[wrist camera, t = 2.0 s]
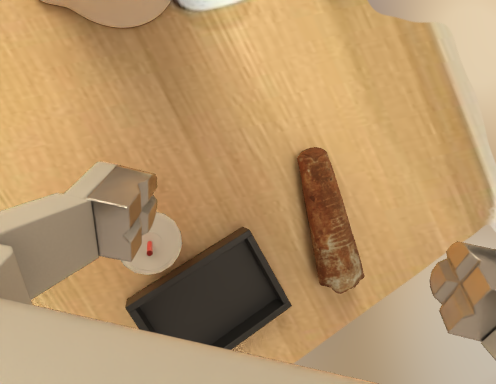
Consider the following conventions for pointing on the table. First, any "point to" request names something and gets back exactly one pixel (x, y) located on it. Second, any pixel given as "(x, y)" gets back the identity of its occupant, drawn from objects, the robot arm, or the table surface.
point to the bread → (328, 223)
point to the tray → (213, 295)
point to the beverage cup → (157, 247)
